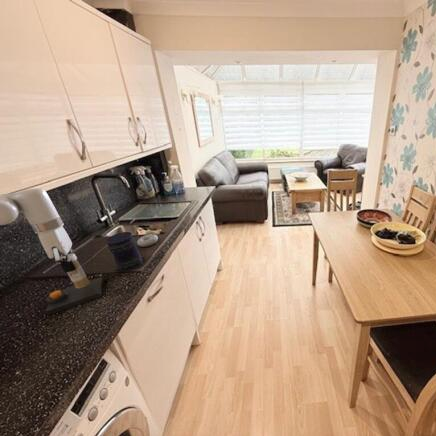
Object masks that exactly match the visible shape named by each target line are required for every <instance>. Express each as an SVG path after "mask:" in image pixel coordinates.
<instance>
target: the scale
mask: <svg viewBox="0 0 436 436" xmlns="http://www.w3.org/2000/svg"><path fill="white" fill-rule="evenodd" d="M89 281H90V282H89V284H88V285H86V286H85V287H82V288H76V287H75V285H72V286H69V287H67V288H63V289H60V291H61V293H62V295H61V296H59V297H57V298H54V299H52V298H51V297H50V294H49V295H48V296H47V297H46V299H45V302H46V303H47V304H48V305H47V307H46V309H45V313H46V315H47V316H51V315H53V314H56V313H59V312H61V311H65V310H68V309H70V308H73V307H76V306H78V305H82V304H84V303H87V302H90V301H93V300H96V299H98V298H101V297H102V294H103V288H104V284H105V278H104V276H100V277H97V278H94V279H91V280H89Z"/></svg>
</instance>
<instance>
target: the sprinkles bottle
mask: <svg viewBox="0 0 436 436" xmlns="http://www.w3.org/2000/svg"><path fill="white" fill-rule="evenodd" d="M75 255H76V253H74V254H68V256H69V259H70V261H71V260H72V262H73V263H74V265H75V267H76V270H74V271H70V272H67V275H68V277H69V278H70V280H71V282H72V283H73V286H75V287H76V288H82V287H85V286H86V285H88V284H89V282H90V281H91V280H89V278H88V277H87V275H86V273H85V270H84V269H83V267H82V265H81V264H80V261H79V262H78V260H79V259H78V256H77V255H76V256H75ZM62 258H65V256H63V257H62ZM77 259H78V260H77Z"/></svg>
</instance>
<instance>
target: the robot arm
mask: <svg viewBox="0 0 436 436" xmlns="http://www.w3.org/2000/svg"><path fill="white" fill-rule="evenodd" d="M19 214H23V216H24V217H25V218H26V220H27V222H28V223H29V225H30V227H31V228H32V230H33V231H34V233H35V234H37V237H38V239H39V241H40V244H41V246H42V247H43V249H44V252H45V254H46V255H47V257H48V259H51V260H52V259H54V260H55V262H57V263H58V264H59V265H60V266H61V268H62V269H63V271H64V273H67V272H70V271H74V270H76V267H75V265H74V263H73V262H72V260H71V261H70V259H69V256H68V254H75V251H74V249H73V248H72V246H73V242H72V240H71V238H70V236H69V234H68V233H67V231H66V230H65V228H64V225H65V224H64V221H63V220H62V218H61V216H60V214H59V213H58V211H57V208H56V207H55V205H54V203H53V202H52V199H51V198H50V196H49V194H48V193H47V190H45V189H43V188H38V187H36V188H30V189H25V190H21V191H18V192H12V193H11V192H9V193H2V194H1V193H0V226H6V225H8V224H11V223H13V222H15V220H17V218H18V216H19ZM63 256H65V258H62V257H63ZM75 256H76V257H77V255H76V254H75ZM77 260H78V262H79V263H80V261H79V259H78V258H77ZM67 274H68V273H67Z"/></svg>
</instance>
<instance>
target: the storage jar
mask: <svg viewBox="0 0 436 436" xmlns="http://www.w3.org/2000/svg"><path fill="white" fill-rule="evenodd" d="M105 242H106V244H107V247H108V249H109V251H110V253H111V254H112V255H113V258H114V261H115V264H116V266H117V267H118V269H119V271H121V272H129V271H133V270H135V269H137V268H138V267H140V266H141V265H142V264H143V263H144V261H143V259H142V255H141V253H140V251H139V250H138V247H137V241H136V240H135V238H134V236H133V234H132V232H130V231H122V232H119V233H115V234H112V235H111V236H109V237H108V238H106V240H105Z"/></svg>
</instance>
